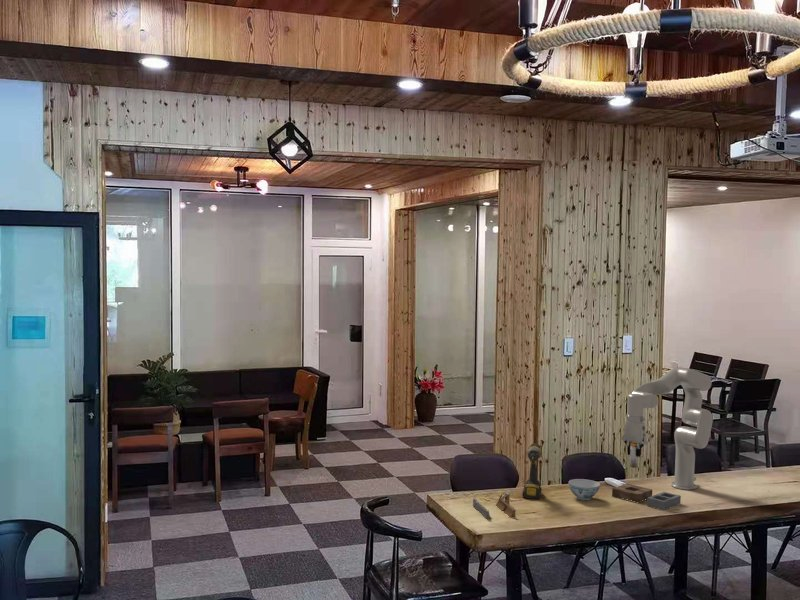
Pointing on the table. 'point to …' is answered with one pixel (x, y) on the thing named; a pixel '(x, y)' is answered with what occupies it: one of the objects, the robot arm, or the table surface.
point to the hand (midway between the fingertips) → (634, 455)
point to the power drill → (533, 474)
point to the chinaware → (584, 488)
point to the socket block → (631, 492)
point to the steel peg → (633, 455)
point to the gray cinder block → (663, 500)
